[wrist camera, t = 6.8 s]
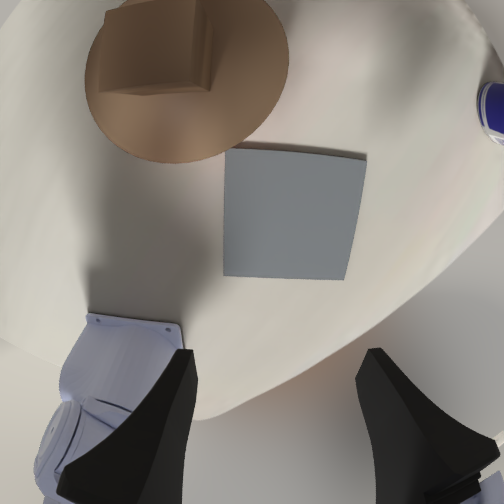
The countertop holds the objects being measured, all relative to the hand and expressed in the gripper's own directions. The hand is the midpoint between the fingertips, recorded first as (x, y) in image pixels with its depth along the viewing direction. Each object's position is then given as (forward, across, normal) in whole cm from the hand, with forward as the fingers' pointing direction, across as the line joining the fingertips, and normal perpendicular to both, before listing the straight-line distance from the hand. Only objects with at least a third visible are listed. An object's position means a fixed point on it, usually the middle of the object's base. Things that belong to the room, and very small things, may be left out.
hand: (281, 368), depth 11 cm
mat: (+10, -1, -2) cm, 11 cm away
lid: (+6, +5, -12) cm, 14 cm away
